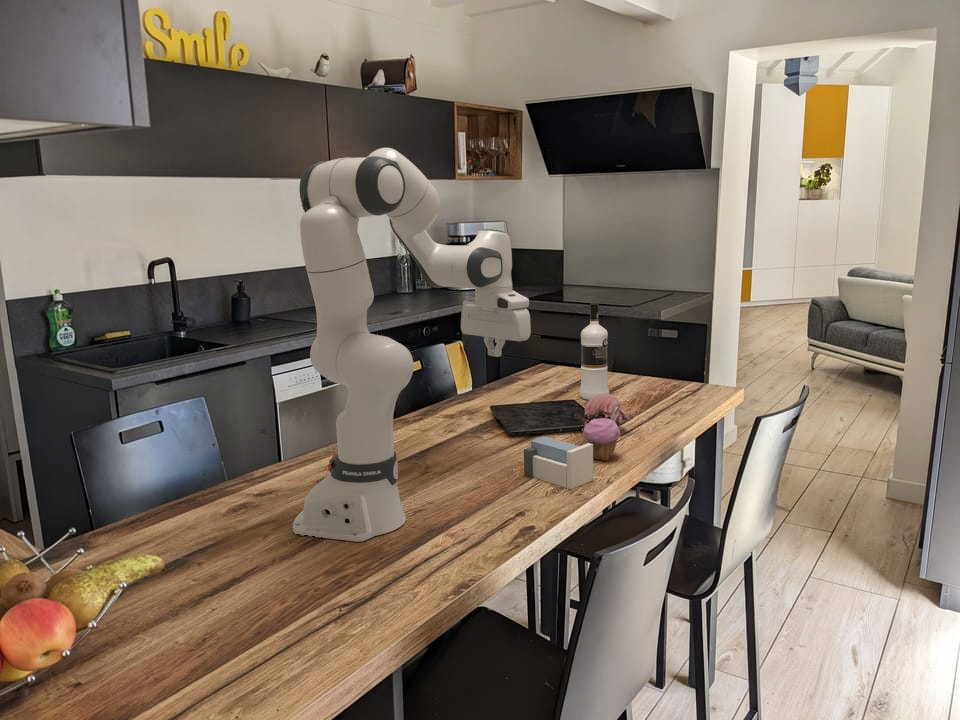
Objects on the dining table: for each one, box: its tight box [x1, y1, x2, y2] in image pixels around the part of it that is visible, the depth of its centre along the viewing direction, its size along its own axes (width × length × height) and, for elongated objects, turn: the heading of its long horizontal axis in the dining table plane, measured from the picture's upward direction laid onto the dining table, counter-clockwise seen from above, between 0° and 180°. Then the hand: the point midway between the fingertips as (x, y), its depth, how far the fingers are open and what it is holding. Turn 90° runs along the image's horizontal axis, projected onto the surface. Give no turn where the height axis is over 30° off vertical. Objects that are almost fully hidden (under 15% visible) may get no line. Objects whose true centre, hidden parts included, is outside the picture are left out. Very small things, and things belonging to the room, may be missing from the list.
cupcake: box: [582, 418, 621, 462], centre depth 191 cm, size 9×9×10 cm
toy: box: [581, 393, 632, 427], centre depth 210 cm, size 12×11×15 cm
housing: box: [523, 442, 594, 490], centre depth 179 cm, size 13×9×8 cm
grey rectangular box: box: [530, 436, 581, 464], centre depth 179 cm, size 12×4×8 cm, turn 44°
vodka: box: [579, 302, 610, 401], centre depth 244 cm, size 9×9×30 cm
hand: (494, 355), depth 188 cm, fingers closed
